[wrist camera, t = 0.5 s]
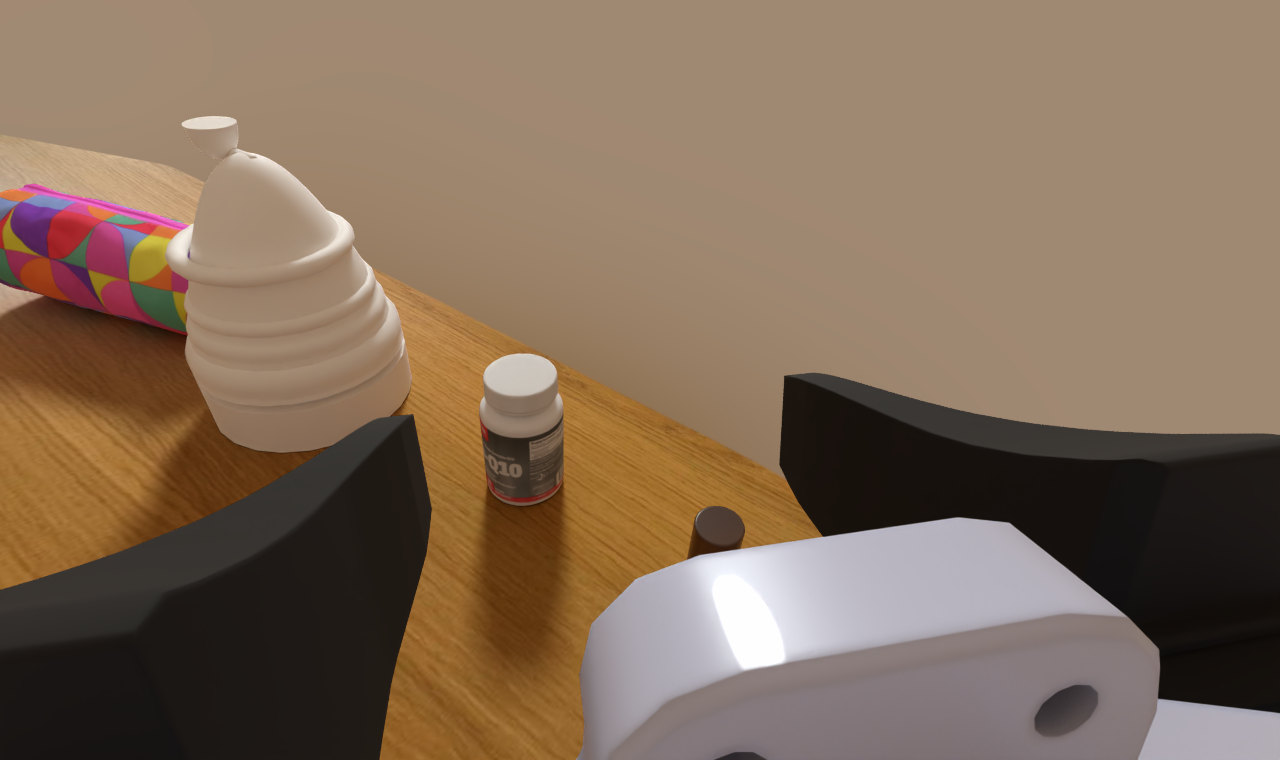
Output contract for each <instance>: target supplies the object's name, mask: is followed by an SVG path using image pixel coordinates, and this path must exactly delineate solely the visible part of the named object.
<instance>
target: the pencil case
mask: <svg viewBox="0 0 1280 760" xmlns="http://www.w3.org/2000/svg"><path fill="white" fill-rule="evenodd" d="M190 225H192V224H187V223H184V222H181V221H178V220H175V219H170V218H167V217H163V216H159V215H155V214H152V213H148V212H144V211H139V210H136V209H132V208H128V207H124V206H120V205H117V204H113V203H110V202H106V201H102V200H96V199H91V198H83V197H79V196H74V195H70V194H67V193H64V192H59V191H56V190H53V189H49V188H46V187H43V186H41V185H37V184H28V185H25V186H24V187H23V188H21V189H11V190H7V191H4V192H1V193H0V283H2V284H4V285H7V286H9V287H12V288H15V289H19V290H24V291H29V292H33V293H37V294H41V295H44V296H47V297H50V298H52V299H55V300H58V301H61V302H64V303H67V304H71V305H75V306H78V307H82V308H87V309H93V310H95V311H98V312H102V313H106V314H110V315H114V316H117V317H121V318H125V319H129V320H133V321H137V322H141V323H145V324H148V325H151V326H155V327H159V328H163V329H166V330H170V331H173V332H176V333H180V334H184V335H187V336H188V333H187V331H186V321H187V315H188V314H187V312H186V310H185V308H184V301H185V295H186V292H187V290H188V280H187V279H185V278H184V277H182V276H180V275H179V274H177V273H175V272H174V271H172V269H171V268H170V266H169V265H168V263H167V261H166V259H165V253H166V248H167V245H168V243H169V242H170V241H171V240H172V238H173V237H174V236H175V235H176V234H177V233H179V232H180V231H182V230H183V229H185V228H187V227H188V226H190ZM188 258H189V259H190V252H189V253H188Z"/></svg>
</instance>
